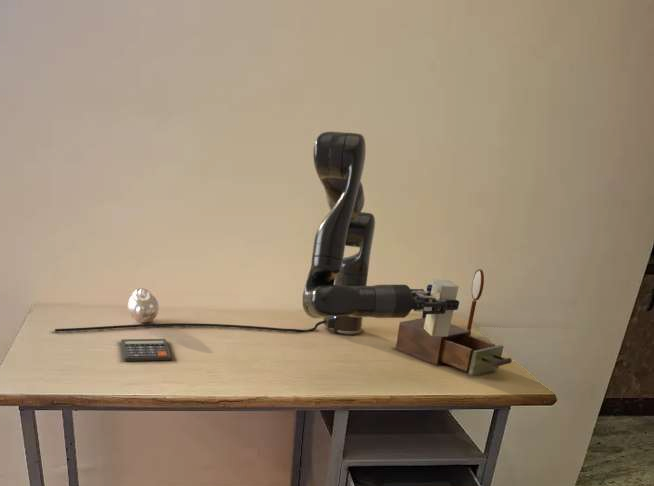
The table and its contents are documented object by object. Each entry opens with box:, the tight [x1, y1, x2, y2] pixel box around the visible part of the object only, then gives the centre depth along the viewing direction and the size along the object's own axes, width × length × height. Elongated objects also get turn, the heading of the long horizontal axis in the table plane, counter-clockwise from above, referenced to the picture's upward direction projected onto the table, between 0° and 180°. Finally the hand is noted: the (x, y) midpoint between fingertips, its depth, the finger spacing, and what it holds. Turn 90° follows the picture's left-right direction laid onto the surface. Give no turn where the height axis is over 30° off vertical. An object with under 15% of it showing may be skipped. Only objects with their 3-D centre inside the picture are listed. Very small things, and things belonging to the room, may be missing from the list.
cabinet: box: [395, 317, 472, 366], centre depth 193 cm, size 15×12×8 cm
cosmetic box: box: [424, 279, 459, 336], centre depth 168 cm, size 6×4×12 cm
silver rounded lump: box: [127, 287, 160, 324], centre depth 201 cm, size 9×10×10 cm
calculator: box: [120, 338, 172, 362], centre depth 182 cm, size 12×1×15 cm
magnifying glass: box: [466, 268, 485, 332], centre depth 206 cm, size 9×2×20 cm, turn 0°
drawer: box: [439, 334, 512, 376], centre depth 184 cm, size 19×11×6 cm, turn 38°
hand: (450, 300), depth 168 cm, fingers closed on cosmetic box, 6 cm apart
